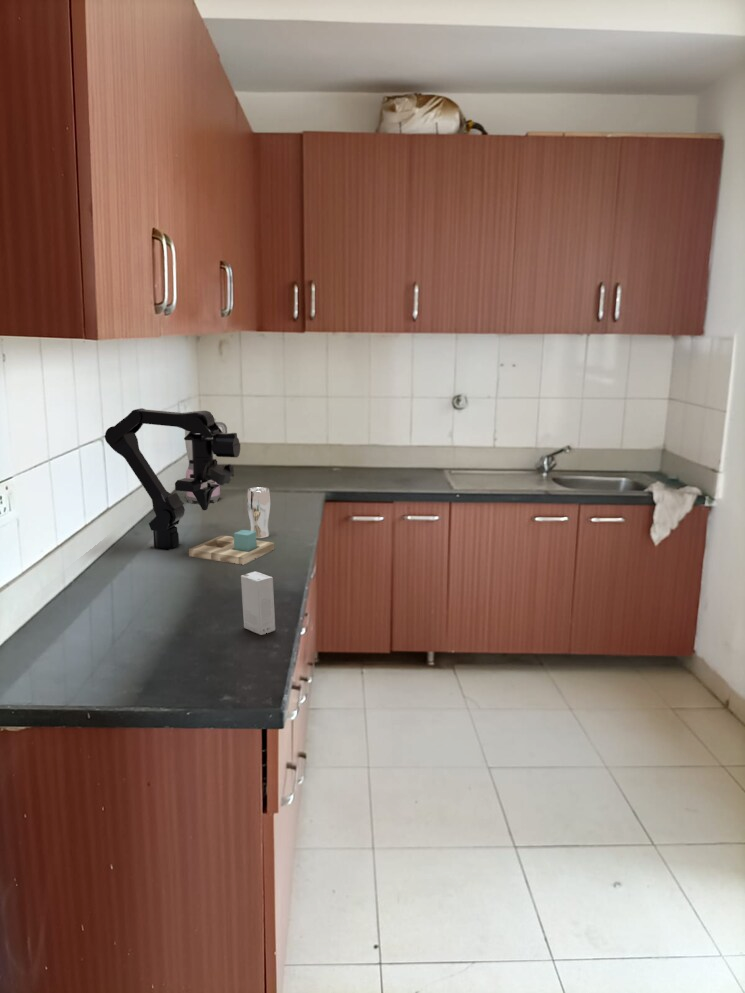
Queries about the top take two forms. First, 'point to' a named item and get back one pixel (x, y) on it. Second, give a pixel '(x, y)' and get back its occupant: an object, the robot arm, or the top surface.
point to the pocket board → (229, 550)
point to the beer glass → (259, 510)
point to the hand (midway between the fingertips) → (204, 510)
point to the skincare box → (258, 602)
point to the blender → (188, 443)
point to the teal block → (245, 540)
